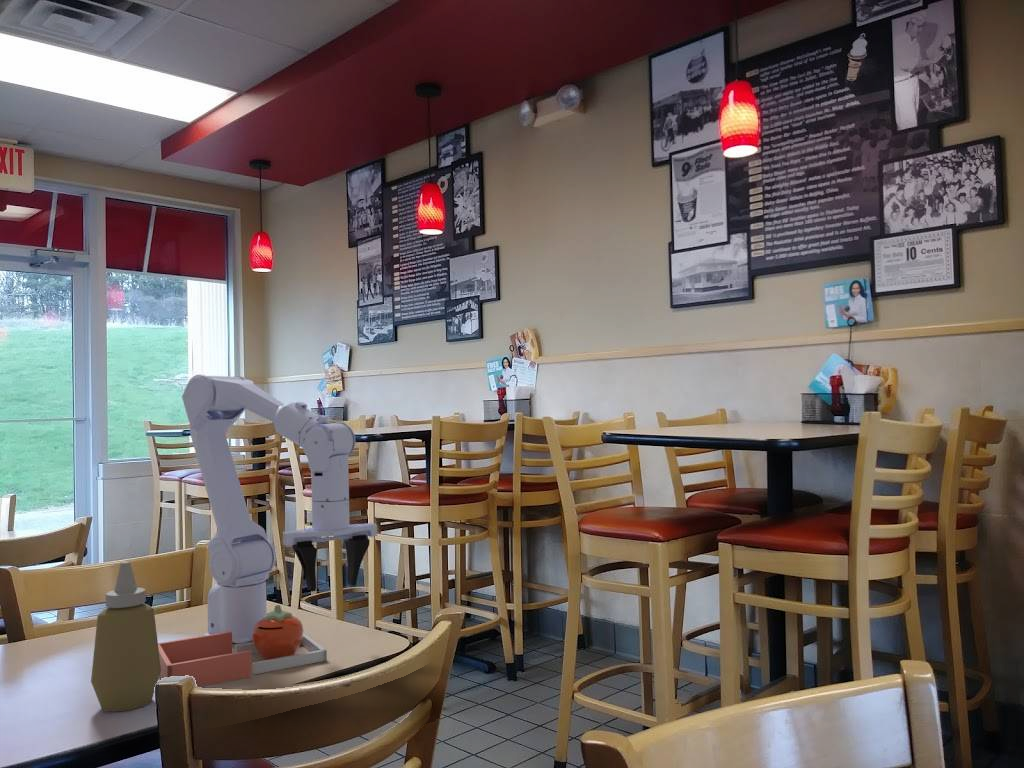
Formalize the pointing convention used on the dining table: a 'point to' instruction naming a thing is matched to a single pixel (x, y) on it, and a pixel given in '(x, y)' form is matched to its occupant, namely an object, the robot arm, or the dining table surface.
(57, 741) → the dining table surface
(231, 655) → the bin
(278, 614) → the tomato
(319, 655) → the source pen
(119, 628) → the squeeze bottle
